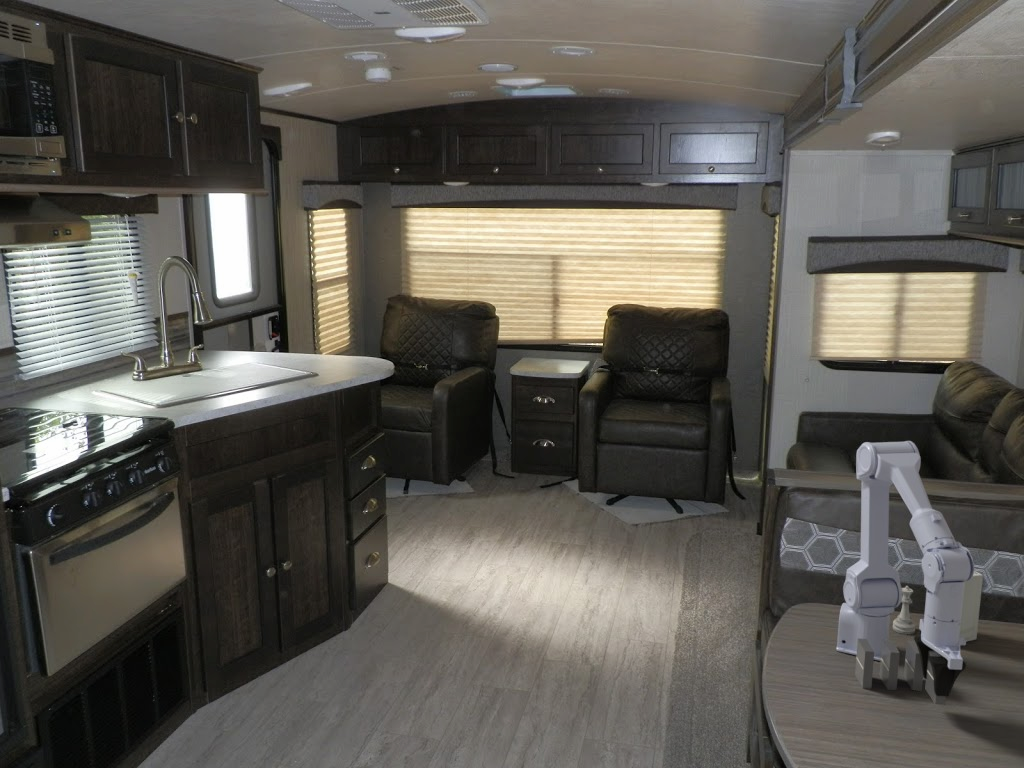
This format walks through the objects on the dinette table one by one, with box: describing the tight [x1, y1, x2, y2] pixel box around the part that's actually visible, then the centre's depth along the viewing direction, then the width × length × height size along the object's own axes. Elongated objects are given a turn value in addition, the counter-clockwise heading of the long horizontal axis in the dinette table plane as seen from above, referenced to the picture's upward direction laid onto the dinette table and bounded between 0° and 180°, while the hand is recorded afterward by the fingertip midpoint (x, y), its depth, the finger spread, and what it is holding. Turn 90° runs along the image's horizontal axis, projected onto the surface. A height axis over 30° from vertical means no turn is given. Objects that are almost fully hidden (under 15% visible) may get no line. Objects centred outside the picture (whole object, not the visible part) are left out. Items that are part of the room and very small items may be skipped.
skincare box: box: [960, 570, 984, 643], centre depth 182 cm, size 8×6×15 cm
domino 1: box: [854, 639, 875, 690], centre depth 166 cm, size 2×5×8 cm, turn 174°
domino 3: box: [903, 640, 924, 692], centre depth 165 cm, size 2×5×8 cm, turn 174°
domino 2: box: [878, 639, 900, 691], centre depth 166 cm, size 2×5×8 cm, turn 174°
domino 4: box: [924, 650, 947, 705], centre depth 155 cm, size 2×5×8 cm, turn 174°
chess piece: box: [892, 585, 916, 635], centre depth 186 cm, size 4×4×10 cm
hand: (935, 686), depth 155 cm, fingers closed on domino 4, 5 cm apart
